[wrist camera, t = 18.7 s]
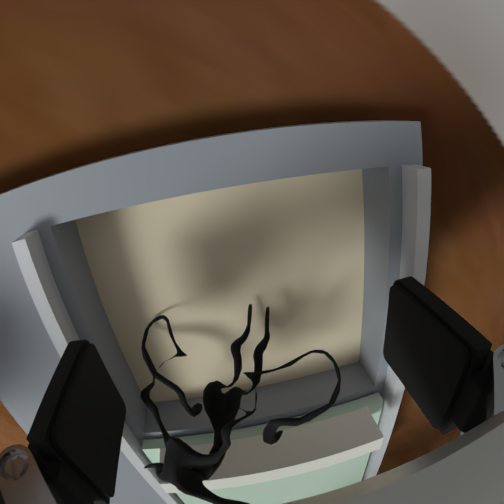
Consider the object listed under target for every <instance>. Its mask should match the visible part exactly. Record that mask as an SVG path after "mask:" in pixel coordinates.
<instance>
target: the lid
mask: <svg viewBox="0 0 504 504" xmlns="http://www.w3.org/2000/svg"><path fill="white" fill-rule="evenodd" d="M383 401H384V400H383V398H382V397H381V395H380V394H379V392H377V393H375V394H372V395H369V396H366V397H363V398H360V399H357V400H354V401H351V402H347V403H344V404H341V405H338V406H334V407H331V408H329V409H328V410H327V411H325V412H324V413H322V414H320V415H319V416H317V417H316V418H314V419H313V420H311V421H309V422H306V423H304V424H301V425H298V426H280V427H279V428H278V429H277V431H276V432H278V431H279V430H282V431H283V433H282V435H281V437H280V439H279V440H278V441H277V442H276V443H274V444H272V445H270V444H267V443H265V442H264V441H263V430H264V428H265V427H266V425H267V424H268V423H266V424H261V425H256V426H251V427H246V428H240V429H234V430H232V431H231V434H230V440H231V446H230V447H229V449H228V450H227V451H226V454H225V457H224V459H223V461H222V463H221V465H220V466H219V467H218V469H217V470H216V471H215V473H214V474H213V475H212V476H211V477H210V478H209V479H208V480H204V481H202V482H203V485H204V486H205V487H206V488H207V489H208V490H210V491H211V492H213V493H214V494H216V495H217V496H219V497H222V498H226V499H231V500H237V501H242V502H246V503H249V504H283V503H287V502H291V501H296V500H300V499H304V498H308V497H312V496H315V495H319V494H323V493H326V492H329V491H333V490H336V489H339V488H342V487H345V486H348V485H351V484H354V483H357V482H360V481H362V478H363V475H364V471H365V468H366V465H367V462H368V459H369V455H370V452H373V451H375V450H378V449H380V448H381V445H382V442H383V439H384V436H383V434H382V433H381V431H380V429H379V427H378V422H379V418H380V414H381V410H382V405H383ZM305 415H306V414H305ZM302 416H304V415H301V416H297V417H293V418H300V417H302ZM175 438H180V439H181V440H182V441H183V442H185V443H187V444H188V445H189V446H190V447H191V448H192V449H194V450H195V451H197V452H199V453H201V454H209V452H210V450H211V448H212V447H213V442H214V433H208V434H200V435H192V436H183V437H175ZM142 450H143V451H144V453H145V454H146V456H147V457H148V458H149V460H150V461H151V462H152V463H164V457H165V452H166V447H165V444H164V438H161V439H146V440H143V444H142ZM159 485H160V486H161V487H162V488H163V489H164V490H165V491H166V493H176V494H177V495H178V496H179V497H180V499H181V500H182V501H183V502H184V503H185V504H213V503H210V502H207V501H204V500H202V499H199V498H197V497H193V496H190V495H187V494H184V493H182V492H181V491H179V490H178V489H177V488H176V486H174V485H173V484H171V483H169V482H164V481H162V480H160V479H159Z"/></svg>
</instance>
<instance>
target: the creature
mask: <svg viewBox="0 0 504 504" xmlns="http://www.w3.org/2000/svg"><path fill="white" fill-rule="evenodd" d="M269 315H270V310H269V307H267V308H266V313H265V334H264V338H263V339H262V340H261V341H260V342H259V344H258V345H257V346H256V348H255V350H254V354H253V359H254V372H244V373H243V374H245V375H246V376H247V377H248V378H249V379H251V381H252V383H253V385H252V387H251V390H249V391H248V392H247V391H244V390H242V389H241V388H239V387H233V388H231V389H230V390H229V391H228V392H226V393H225V394H224V393H222V391H221V389H223V388H229V387H231V386H232V385H234V384H235V382H236V381H237V380H238V379H239V376H240V373H241V370H242V357H241V351H240V350H241V345H242V344H243V343H244V342H245V341H246V340H247V338H248V336H249V333H250V327H251V320H252V304H249V306H248V315H247V326H246V329H245V331H244V333H243V334H242V336H241V337H239V338H238V339H236V340H235V341H234V342H233V343H232V344H231V349H230V350H231V353H232V356H233V359H234V378H233V382H232V383H230V384H229V385H228V386H226V385H224V384H222V383H221V382H219V381H217V380H216V381H214V382H209V383H208V384H207V386H206V387H205V389H204V391H203V404H204V409H205V411H206V413H207V415H208V417H209V419H210V422H211V424H212V427H213V429H214V442H213V447H212V448H211V450H210V452H209V454H201V453H199V452H197V451H195V450H194V449H192V448H191V447H190V446H189V445H188V444H187V443H185V442H183V441H182V440H181V439H180V438H175V437H171V436H170V435H169V433H168V432H167V431H166V429H165V427H164V425H163V423H162V421H161V419H160V415H159V410H158V407H157V406H156V405H155V404H154V402H153V401H152V400H151V398H150V391H151V389H152V388H153V387H154V385H155V378H156V379H157V380H159V381H161V382H162V383H163V384H165V385H166V386H168V387H169V388H171V389H172V390H174V391H175V392H176V393H177V395H178V397H179V399H180V403H181V404H182V406H183V407H184V409H185V410H186V412H187V413H188V414H189V415H191V416H193V417H195V416H197V415H199V414H200V413H201V411H202V409H203V408H202V404H200V403H196V404H195V405H194V406H193V407H192V408H191V407H190V406H189V405H188V403H187V400H186V396H185V393H184V392H183V391H182V390H181V389H180V387H179V386H177V385H176V384H175V383H173V382H171V381H170V380H168V379H167V378H165V377H164V376H162V375H161V374H160V373H158V372H157V370H158V369H159V368H160V367H161V366H162V365H163V363H164V362H163V363H162V364H161V365H160V367H159V368H158V369H157V370H156V368H155V366H154V364H153V362H152V360H151V358H150V356H149V354H148V352H147V349H146V347H145V343H146V339H147V335H148V331H149V328H150V327H151V326H152V325H153V323H154V322H156V321H158V320H160V319H163V320H165V321H166V323H167V327H168V331H169V335H170V337H171V339H172V341H173V343H174V345H175V347H176V350H177V353H176V354H175V355H174V356H173V357H172V358H174V357H183V356H187V354H185V353H184V352H183V351H182V350H181V349H180V347H179V346H178V344H177V343H176V342H175V339H174V336H173V332H172V329H171V326H170V322H169V319H168V318H167V317H166V316H164V315H161V316H158V317H156V318H154V319H153V320H152V321H151V322H150V323H149V324H148V326H147V328H146V330H145V332H144V336H143V340H142V347H141V350H142V355H143V359H144V361H145V363H146V365H147V367H148V368H149V370H150V372H151V374H152V376H153V382H152V383H150V384H149V385H148V386H146V387H145V388H144V389H143V390H142V391H141V395H140V397H141V399H142V400H143V402H144V404H145V405H146V406H147V407H148V409H149V410H150V411H151V412H152V414H153V416H154V418H155V420H156V422H157V424H158V426H159V428H160V430H161V432H162V435H163V438H164V444H165V447H166V452H165V457H164V463H151V464H148V465H146V466H145V467H144V469H145V468H155V469H156V474H157V477H158V478H159V479H160V480H162V481H164V482H169V483H171V484H173V485H174V486H176V488H177V489H178V490H179V491H181V492H182V493H184V494H187V495H190V496H193V497H197V498H199V499H202V500H204V501H207V502H210V503H213V504H249V503H246V502H242V501H237V500H231V499H226V498H222V497H219V496H217V495H216V494H214V493H213V492H211V491H210V490H208V489H207V488H206V487H205V486H204V485H203V482H202V481H204V480H208V479H209V478H210V477H211V476H212V475H213V474H214V473H215V471H216V470H217V469H218V467H219V466H220V465H221V463H222V461H223V459H224V457H225V454H226V451H227V450H228V449H229V447H230V446H231V440H230V434H231V431H232V427H233V426H235V425H236V424H238V423H239V422H240V421H242V420H243V419H245V418H247V417H249V416H250V415H252V414H253V413H254V412H255V410H257V409H256V403H257V392H256V393H255V408H254V410H253V411H245V410H243V409H242V410H243V411H245V412H246V415H245V416H243V417H241V418H238V419H236V420H235V418H236V415H237V413H238V410H239V409H241V408H240V403H241V398H242V395H247V394H249V393H250V392H251V391H253V390H254V389H255V387H256V386H257V385H258V384H259V382H260V379H261V375H262V374H266V373H270V372H273V371H276V370H280V369H283V368H286V367H289V366H292V365H293V364H295V363H296V362H297V361H299V360H300V359H302V358H303V357H305V356H307V355H309V354H311V353H320V354H325V355H326V356H327V357H328V358H329V359H330V360H331V361H332V362H333V364H334V367H335V371H336V375H337V378H338V382H337V385H336V387H335V389H334V392H333V394H332V396H331V399H330V401H329V403H328V404H326V405H324V406H322V407H320V408H318V409H316V410H314V411H312V412H310V413H308V414H306V415H304V416H302V417H300V418H278V419H273V420H269V422H268V424H267V425H266V427H265V428H264V430H263V441H264V442H265V443H267V444H270V445H272V444H274V443H276V442H277V441H278V440H279V439H280V437H281V435H282V433H283V431H282V430H279V431H278V432H276V431H277V429H278V428H279V427H280V426H298V425H301V424H304V423H306V422H309V421H311V420H313V419H314V418H316V417H317V416H319V415H320V414H322V413H324V412H325V411H327V410H328V409H329V408H330V407H331V406H332V405H333V404H334V403H335V401H336V399H337V397H338V395H339V393H340V385H341V375H340V370H339V367H338V365H337V363H336V361H335V360H334V358H333V357H332V356H331V355H330V354H329V353H328V352H326V351H324V350H312V351H309V352H307V353H305V354H303V355H301V356H299V357H297V358H295V359H293V360H291V361H290V362H288V363H286V364H284V365H282V366H280V367H278V368H275V369H271V370H265V371H262V366H263V353H264V351H265V350H266V347H267V345H268V342H269V340H270V332H269ZM172 358H170V359H172ZM170 359H168V360H170ZM166 361H167V360H166ZM255 390H256V389H255Z"/></svg>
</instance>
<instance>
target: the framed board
mask: <svg viewBox="0 0 504 504" xmlns="http://www.w3.org/2000/svg"><path fill="white" fill-rule="evenodd" d="M430 215H431V168H429V167H425V166H423V154H422V134H421V121H400V120H369V121H344V122H327V123H314V124H302V125H291V126H281V127H272V128H264V129H256V130H248V131H241V132H234V133H228V134H221V135H215V136H209V137H203V138H198V139H192V140H187V141H182V142H177V143H172V144H167V145H162V146H157V147H153V148H148V149H144V150H140V151H135V152H131V153H127V154H123V155H119V156H115V157H111V158H108V159H104V160H100V161H97V162H93V163H89V164H86V165H82V166H79V167H76V168H72V169H69V170H66V171H63V172H60V173H56V174H53V175H50V176H47V177H44V178H41V179H38V180H35V181H33V182H30V183H27V184H24V185H21V186H19V187H16V188H13V189H11V190H8V191H5V192H3V193H0V400H1V402H2V403H3V404H4V406H5V407H6V408H7V410H8V411H9V412H10V414H11V415H12V416H13V418H14V419H15V420H16V421H17V423H18V424H19V425H20V426H21V427H22V429H23V430H24V431H25V432H26V433H27V435H28V434H29V431H30V428H31V426H32V423H33V421H34V418H35V416H36V413H37V411H38V408H39V406H40V404H41V401H42V399H43V397H44V394H45V392H46V390H47V387H48V385H49V383H50V381H51V378H52V376H53V374H54V372H55V370H56V368H57V366H58V363H59V361H60V359H61V357H62V355H63V353H64V351H65V349H66V347H67V345H68V343H69V342H70V341H76V340H85V339H86V340H88V341H89V343H90V344H91V343H92V344H94V345H95V347H96V349H97V351H98V353H99V355H100V357H101V359H102V361H103V363H104V365H105V367H106V369H107V371H108V373H109V375H110V377H111V379H112V381H113V382H114V384H115V386H116V388H117V390H118V392H119V393H120V395H121V397H122V399H123V401H124V403H125V406H126V416H125V422H124V428H123V435H122V441H121V448H120V455H119V462H118V470H117V478H116V486H115V494H114V496H113V497H110V504H185V503H184V502H183V501H182V500H181V499H180V497H179V496H178V495H177V494H176V493H166V491H165V490H164V489H163V488H162V487H161V486H160V485H159V478H158V477H157V474H156V469H155V468H145V469H144V467H145V466H146V465H148V464H151V463H152V462H151V461H150V460H149V458H148V457H147V456H146V454H145V453H144V451H143V450H142V444H143V440H146V439H161V438H163V435H162V432H161V430H160V428H159V426H158V424H157V422H156V420H155V418H154V416H153V414H152V412H151V411H150V410H149V409H148V407H147V406H146V405H145V404H144V402H143V400H142V399H141V397H140V395H141V391H142V390H143V389H144V388H145V387H146V386H148V385H149V384H150V383H152V382H153V376H152V374H151V372H150V370H149V368H148V367H147V365H146V363H145V361H144V359H143V355H142V350H141V347H142V340H143V336H144V332H145V330H146V328H147V326H148V324H149V323H150V322H151V321H152V320H153V319H154V318H156V317H158V316H161V315H164V316H166V317H167V318H168V319H169V322H170V326H171V329H172V332H173V336H174V339H175V342H176V343H177V344H178V346H179V347H180V349H181V350H182V351H183V352H184V353H185V354H187V356H183V357H174V358H172V357H173V356H174V355H175V354H176V353H177V350H176V347H175V345H174V343H173V341H172V339H171V337H170V335H169V331H168V327H167V323H166V321H165V320H163V319H160V320H158V321H156V322H154V323H153V325H152V326H151V327H150V328H149V331H148V335H147V339H146V343H145V347H146V349H147V352H148V354H149V356H150V358H151V360H152V362H153V364H154V366H155V368H156V370H157V369H158V368H159V367H160V365H161V364H162V363H163V362H164V363H163V365H162V366H161V367H160V368H159V369H158V370H157V372H158V373H160V374H161V375H162V376H164V377H165V378H167V379H168V380H170V381H171V382H173V383H175V384H176V385H177V386H179V387H180V389H181V390H182V391H183V392H184V393H185V396H186V400H187V403H188V405H189V406H190V407H191V408H192V407H193V406H194V405H195V404H196V403H200V404H202V408H203V409H202V411H201V413H200V414H199V415H197V416H195V417H193V416H191V415H189V414H188V413H187V412H186V410H185V409H184V407H183V406H182V404H181V403H180V399H179V397H178V395H177V393H176V392H175V391H174V390H172V389H171V388H169V387H168V386H166V385H165V384H163V383H162V382H161V381H159V380H157V379H156V378H155V385H154V387H153V388H152V389H151V391H150V398H151V400H152V401H153V402H154V404H155V405H156V406H157V407H158V410H159V415H160V419H161V421H162V423H163V425H164V427H165V429H166V431H167V432H168V433H169V435H170V436H171V437H183V436H192V435H200V434H208V433H214V429H213V427H212V424H211V422H210V419H209V417H208V415H207V413H206V411H205V409H204V404H203V391H204V389H205V387H206V386H207V384H208V383H209V382H214V381H216V380H217V381H219V382H221V383H222V384H224V385H226V386H228V385H229V384H230V383H232V382H233V378H234V359H233V356H232V353H231V350H230V349H231V344H232V343H233V342H234V341H235V340H236V339H238V338H239V337H241V336H242V334H243V333H244V331H245V329H246V326H247V315H248V306H249V304H252V320H251V327H250V333H249V336H248V338H247V340H246V341H245V342H244V343H243V344H242V345H241V350H240V351H241V357H242V370H241V373H240V376H239V379H238V380H237V381H236V382H235V384H234V385H232V386H231V387H229V388H223V389H221V391H222V393H224V394H225V393H226V392H228V391H229V390H230V389H231V388H233V387H239V388H241V389H242V390H244V391H247V392H248V391H249V390H251V387H252V385H253V383H252V381H251V379H249V378H248V377H247V376H246V375H245V374H243V373H244V372H254V359H253V354H254V350H255V348H256V346H257V345H258V344H259V342H260V341H261V340H262V339H263V338H264V334H265V313H266V308H267V307H269V310H270V315H269V332H270V340H269V342H268V345H267V347H266V350H265V351H264V353H263V366H262V371H265V370H271V369H275V368H278V367H280V366H282V365H284V364H286V363H288V362H290V361H291V360H293V359H295V358H297V357H299V356H301V355H303V354H305V353H307V352H309V351H312V350H324V351H326V352H328V353H329V354H330V355H331V356H332V357H333V358H334V360H335V361H336V363H337V365H338V367H339V370H340V375H341V385H340V393H339V395H338V397H337V399H336V401H335V403H334V404H333V405H332V406H331V407H334V406H338V405H341V404H344V403H347V402H351V401H354V400H357V399H360V398H363V397H366V396H369V395H372V394H375V393H377V392H379V394H380V395H381V397H382V398H383V400H384V401H383V405H382V410H381V414H380V418H379V422H378V427H379V429H380V431H381V433H382V434H383V436H384V439H383V442H382V445H381V448H380V449H378V450H375V451H373V452H370V455H369V459H368V462H367V465H366V468H365V471H364V475H363V480H366V479H368V478H371V477H374V476H376V475H377V472H378V469H379V467H380V464H381V462H382V459H383V456H384V453H385V451H386V448H387V445H388V442H389V439H390V436H391V433H392V430H393V427H394V424H395V420H396V417H397V414H398V410H399V407H400V403H401V400H402V396H403V393H404V389H405V387H404V385H403V384H402V382H401V381H400V380H399V378H398V377H397V375H396V374H395V373H394V371H393V370H392V369H391V367H390V366H389V365H388V363H387V362H386V360H385V358H384V355H383V347H384V339H385V331H386V322H387V312H388V301H389V290H390V287H391V286H393V283H394V281H396V280H398V279H402V278H405V277H409V276H412V277H414V278H415V279H416V280H417V281H419V282H420V283H421V284H422V285H425V277H426V268H427V258H428V247H429V233H430ZM170 358H172V359H170ZM168 359H170V360H168ZM166 360H167V361H166ZM337 382H338V378H337V375H336V371H335V367H334V364H333V362H332V361H331V360H330V359H329V358H328V357H327V356H326V355H325V354H320V353H311V354H309V355H307V356H305V357H303V358H302V359H300V360H299V361H297V362H296V363H295V364H293V365H292V366H289V367H286V368H283V369H280V370H276V371H273V372H270V373H266V374H262V375H261V379H260V382H259V384H258V385H257V386H256V387H255V389H256V390H255V389H254V390H253V391H251V392H250V393H249V394H247V395H242V398H241V403H240V408H241V409H239V410H238V413H237V415H236V418H235V420H236V419H238V418H241V417H243V416H245V415H246V412H245V411H253V410H254V408H255V393H256V392H257V403H256V409H257V410H255V412H254V413H253V414H252V415H250V416H249V417H247V418H245V419H243V420H242V421H240V422H239V423H238V424H236V425H235V426H233V427H232V430H234V429H240V428H246V427H251V426H256V425H261V424H266V423H268V422H269V420H273V419H278V418H293V417H297V416H301V415H305V414H308V413H310V412H312V411H314V410H316V409H318V408H320V407H322V406H324V405H326V404H328V403H329V401H330V399H331V396H332V394H333V392H334V389H335V387H336V385H337ZM331 407H330V408H331ZM242 409H243V410H245V411H243V410H242Z"/></svg>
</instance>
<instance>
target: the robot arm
mask: <svg viewBox="0 0 504 504" xmlns="http://www.w3.org/2000/svg"><path fill="white" fill-rule="evenodd" d="M491 346H492V343H491V342H490V341H488V340H487V339H486V338H485V337H484V336H483V335H482V334H481V333H479V332H478V331H477V330H476V329H475V328H474V327H473V326H472V325H470V324H469V323H468V322H467V321H466V320H465V319H463V318H462V317H461V316H460V315H459V314H458V313H456V312H455V311H454V310H453V309H452V308H450V307H449V306H448V305H447V304H446V303H445V302H443V301H442V300H441V299H440V298H438V297H437V296H436V295H435V294H434V293H432V292H431V291H430V290H429V289H427V288H426V287H425V286H424V285H422V284H421V283H420V282H419V281H417V280H416V279H415V278H414V277H412V276H409V277H405V278H402V279H398V280H396V281H394V283H393V286H391V287H390V290H389V301H388V312H387V322H386V331H385V339H384V347H383V355H384V358H385V360H386V362H387V363H388V365H389V366H390V367H391V369H392V370H393V371H394V373H395V374H396V375H397V377H398V378H399V380H400V381H401V382H402V384H403V385H404V387H405V388H406V389H407V391H408V392H409V393H410V395H411V396H412V398H413V399H414V400H415V402H416V403H417V405H418V406H419V408H420V409H421V410H422V412H423V413H424V415H425V416H426V417H427V419H428V420H429V422H430V423H431V425H432V426H433V427H434V428H439V430H440V431H441V432H442V434H445V433H447V432H449V431H451V430H453V429H454V428H456V427H458V428H459V430H460V436H459V437H457V438H455V439H454V440H452V441H450V442H448V443H446V444H444V445H442V446H440V447H438V448H437V449H435V450H433V451H431V452H429V453H427V454H425V455H423V456H420V457H418V458H416V459H414V460H412V461H410V462H408V463H405V464H403V465H401V466H398V467H396V468H394V469H391V470H389V471H386V472H384V473H381V474H379V475H376V476H374V477H371V478H368V479H366V480H363V481H360V482H357V483H354V484H351V485H348V486H345V487H342V488H339V489H336V490H333V491H329V492H326V493H323V494H319V495H315V496H312V497H308V498H304V499H300V500H296V501H291V502H287V503H283V504H504V345H502V346H500V347H498V348H497V349H496V350H495V352H494V353H493V352H492V351H491V350H490V349H491ZM125 416H126V406H125V403H124V401H123V399H122V397H121V395H120V393H119V392H118V390H117V388H116V386H115V384H114V382H113V381H112V379H111V377H110V375H109V373H108V371H107V369H106V367H105V365H104V363H103V361H102V359H101V357H100V355H99V353H98V351H97V349H96V347H95V345H94V344H92V343H91V344H90V343H89V341H88V340H86V339H85V340H76V341H70V342H69V343H68V345H67V347H66V349H65V351H64V353H63V355H62V357H61V359H60V361H59V363H58V366H57V368H56V370H55V372H54V374H53V376H52V378H51V381H50V383H49V385H48V387H47V390H46V392H45V394H44V397H43V399H42V401H41V404H40V406H39V408H38V411H37V413H36V416H35V418H34V421H33V423H32V426H31V428H30V431H29V434H28V436H27V440H28V442H29V445H28V448H27V447H25V446H24V445H19V444H18V445H12V446H9V447H7V448H6V449H4V450H3V451H2V452H1V453H0V504H110V497H113V496H114V494H115V486H116V478H117V470H118V462H119V455H120V448H121V441H122V435H123V428H124V422H125Z"/></svg>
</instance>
